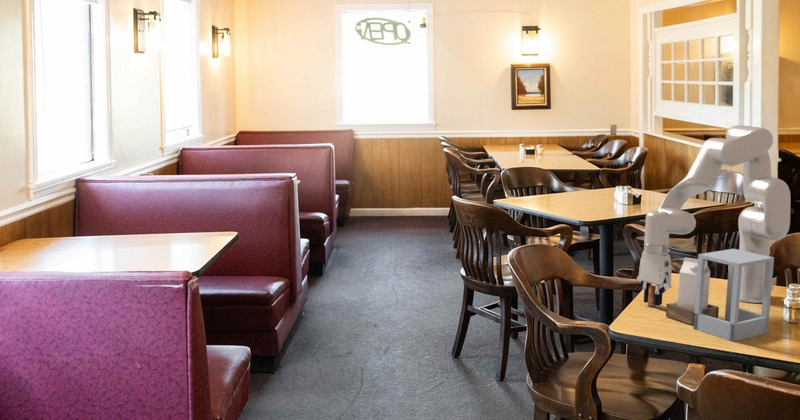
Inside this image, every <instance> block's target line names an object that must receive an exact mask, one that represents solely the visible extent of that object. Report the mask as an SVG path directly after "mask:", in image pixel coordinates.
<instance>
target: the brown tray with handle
mask: <svg viewBox="0 0 800 420" xmlns="http://www.w3.org/2000/svg"><path fill="white" fill-rule="evenodd" d="M654 294H656V285H655V284H652V285H649V290H648V302H647V306H648V307H655V306H654ZM677 303H678V301H675V302H671V303H667V304H666V305H665V306H663V305H658V306H656V307H657V308H660V309H664V310H665V317H667V318H670V319H672V320H676V321H678V322H683V323H686V324H689V325H691V326H694V311H691V310H688V309H685V308H681V307H678V306H677ZM719 309H720V308H719V306H716V305H713V304H709V303H708V308H707V309H702V314H705V315H708V316H711V317H714V318H718V319H719V311H720V310H719Z"/></svg>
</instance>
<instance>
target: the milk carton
mask: <svg viewBox="0 0 800 420" xmlns="http://www.w3.org/2000/svg"><path fill="white" fill-rule="evenodd" d="M697 268H698V258H691V257H685V256H684V261H683V263H682V265H681V268H680V270H679V273H678V274H679V276H678V287H677V288H678V291H677V302H678V303H677V306H678V307H681V308H685V309H688V310H691V311H695V297H696V282H697ZM710 280H711V270H710V268H709V265H708V260H706V261H705V275H704V289H703V304H702V309H707V308H708V304H709V295H710V294H709V293H710V282H711V281H710Z"/></svg>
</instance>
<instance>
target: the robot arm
mask: <svg viewBox="0 0 800 420" xmlns="http://www.w3.org/2000/svg"><path fill="white" fill-rule="evenodd" d="M773 143H774V136H773V134H772V132H770V130H769V129H767V128H764V127H759V126H751V125H738V124H737V125H733V126H730V127H729V128H728V129H727V130H726V132H725V138H722V137H721V138H720V137H710V138H708V139H706V140H705V141H704V143H702V145H701V147H700V149H699V151H698V152H697V155H696V156H695V159H694V160H693V163H692V165H691V166H690V169H689V170H688V173H687V174H686V175H685V177H684V178H682V180H681V181H679V182H678V183H677V184H676V185H675V186H673V187H672V189H670V190H669V191H668V192H667V194H666V195H665V196H664V198H663V200H662V202H661V204H660V206H659V208H658V210H650V211H648V212H647V213H646V215H645V226H644V228H645V229H644V242H643V243H644V244H643V251H642V253H641V257H640V261H639V262H640V263H639V271H638V275H637V277H636V280H637V281H638V282H639V283H640V285H641V287H642V290H643V303H648V290H649V285H654V286H656V290H655V294H654V306H653V307H657V306H658V305H660V306H662V305H663V294H665V293H666V291H667V290H669V289H671V288H672V283H671V282H672V260H671V255H670V254H669V253H670V252H671V249H670V248H669V242H670V241H669V239H670V234H674V235H675V234H676V235H688V234H690V233H692V232H693V231H694V230H695V228H696V225H697V221H696V219H695V216H694V215H693V214H692V213H690V212H688V211H685V210H681V209H682V208H683V205H685V203H686V202H688V200H689V199H692V197H694V196H696V195H699V194H701V193H704V192H706V191H707V192H708V190H710V189H711V188H712V186H713V184H714V183H715V181H716V178H717V177H718V175H719V172H720V171H721V168H722V167H723V166H727V167H735V166H738V165H741V164H742V167H743V169H742V171H743V172H742V173H743V174H742V176H743V177H742V181H743V182H742V183H743V184H742V186H743V187H742V190H743V191H742V194H743V197H744V199H745V200H746V201H748V202H749V203H752V204H756V205H759V206H748V207H745V208H744V209H743V210H741V212H740V213H739V216H738V221H737V222H738V233H739V248H738V250H742V251H746V252H751V253H755V254H760V255H765V256H769V257H770V255H771V254H770V253H771V252H770V251H771V250H770V249H771V248H770V242H769V240H771V241H780V240H782V239H784V238H785V237H786V235H787V234H788V232H789V230H790V226H791V190H790V188H789V185H788V184H787V183H786V182H785V181H784V180H782V179H780V178H778V177H777V178H776V177H772V167H771V158H770V157H771V156H770V153H769V152H768V151H769V150H770V149H771V148H772V147H773ZM760 206H761V207H760ZM762 206H763V207H762ZM765 267H766V262H765V263H759V264H754V265H748V266H743V267H742V275H741V287H740V300H739V302H744V303H745V302H746V303H750V304H751V303H752V304H754V303H755V304H762V303H763V291H764V279H765ZM774 289H775V287H774V285H773V284H772V288H771V291H773V290H774Z"/></svg>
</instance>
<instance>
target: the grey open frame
mask: <svg viewBox="0 0 800 420" xmlns="http://www.w3.org/2000/svg"><path fill="white" fill-rule="evenodd" d="M697 256H698V257H697V259H698V268H697V282H696V297H695V311H694V325H692V326H693V327H692V328H693V330H695V329H696V331H699V332H702V333H706V334H709V335H711V336H715V337H718V338H720V339H724V340H726V341H730V342H739V341H741V340H745V339H749V338H753V337H757V336H761V335H765V334H768V333H769V322H770V312H771V311H770V310H771V300H772V299H771V298H772V290H771V288H772V285H773V275H774V261H775V257H774V256H770V255H769V256H765V255H760V254H755V253H751V252H746V251H742V250H739V249H737V248H729V249H724V250H718V251H717V250H716V251H710V252H704V253H698V255H697ZM705 261H711V262H715V263H719V264H722V265H723V264H724V265H728V272H727V286H726V299H725V311H724V312H725V313H724V319H720V318H719V317H718V318H714V317H711V316H708V315H705V314H702V304H703V289H704V275H705ZM765 262H766V267H765V279H764V291H763V303H761V314H760V313H758V312H754V311H750V310H746V309H743V308H740V301H739V300H740V287H741V275H742V267H743V266H748V265H754V264H759V263H765Z"/></svg>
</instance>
